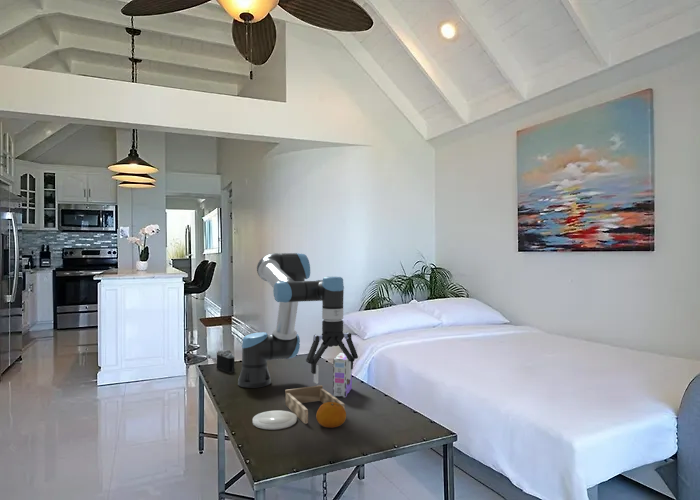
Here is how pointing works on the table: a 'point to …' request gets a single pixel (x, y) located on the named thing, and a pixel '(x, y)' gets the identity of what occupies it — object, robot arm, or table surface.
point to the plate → (274, 420)
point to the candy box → (341, 376)
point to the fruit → (331, 414)
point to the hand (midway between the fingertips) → (332, 380)
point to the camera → (225, 360)
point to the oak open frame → (307, 399)
